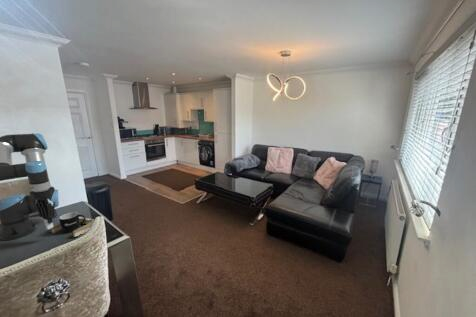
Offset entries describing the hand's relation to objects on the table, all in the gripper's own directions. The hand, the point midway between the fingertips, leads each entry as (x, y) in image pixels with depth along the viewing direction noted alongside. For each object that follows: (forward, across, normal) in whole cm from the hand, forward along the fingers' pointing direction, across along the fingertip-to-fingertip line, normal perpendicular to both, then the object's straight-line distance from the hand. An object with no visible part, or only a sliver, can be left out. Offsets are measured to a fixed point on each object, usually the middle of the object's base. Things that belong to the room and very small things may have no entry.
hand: (50, 227), depth 111 cm
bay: (+8, +2, +12) cm, 14 cm away
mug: (+8, +1, +11) cm, 14 cm away
